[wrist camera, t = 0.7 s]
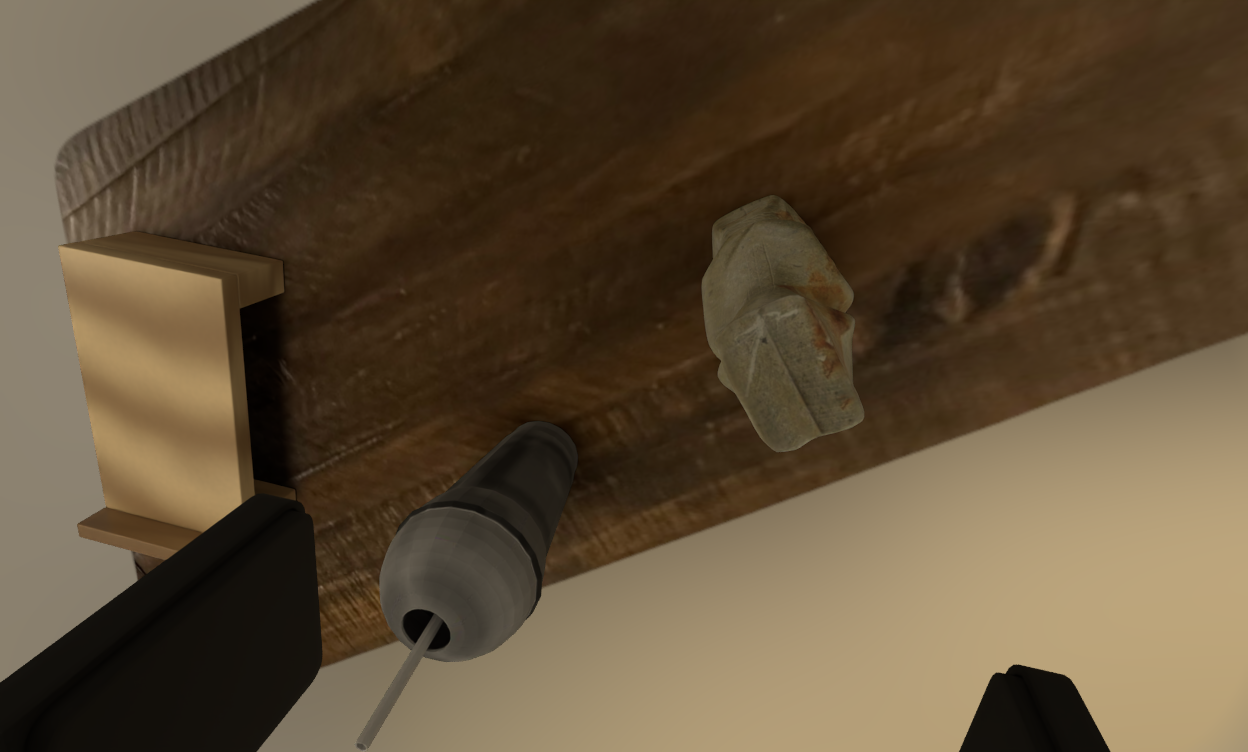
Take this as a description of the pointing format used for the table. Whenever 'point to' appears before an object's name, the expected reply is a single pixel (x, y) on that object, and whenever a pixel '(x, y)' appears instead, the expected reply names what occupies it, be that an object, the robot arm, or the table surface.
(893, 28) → the table surface
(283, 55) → the table surface
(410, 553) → the beverage cup
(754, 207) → the sculpture
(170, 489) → the shelf
